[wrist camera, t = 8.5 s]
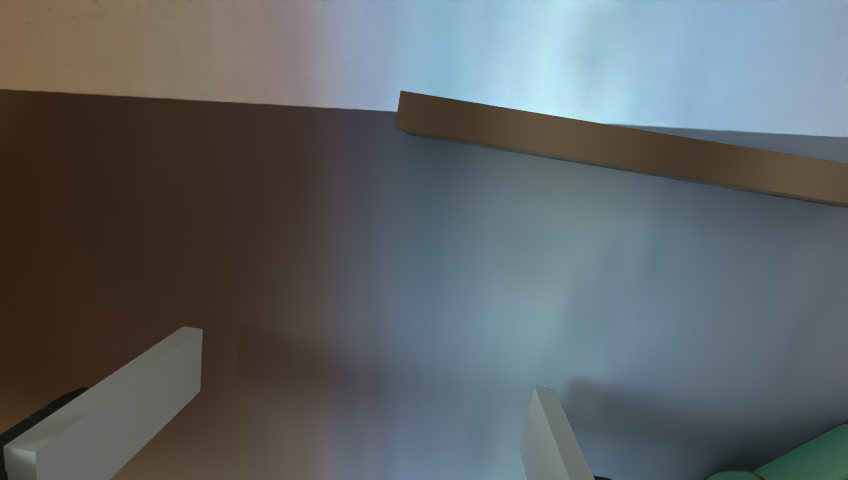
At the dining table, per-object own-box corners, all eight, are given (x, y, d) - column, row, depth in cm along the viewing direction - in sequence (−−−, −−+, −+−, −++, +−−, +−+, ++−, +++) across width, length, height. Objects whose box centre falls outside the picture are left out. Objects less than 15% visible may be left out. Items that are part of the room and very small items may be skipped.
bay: (342, 573, 20) (316, 677, 16) (413, 106, 15) (400, 90, 11) (671, 638, 19) (727, 761, 15) (851, 179, 15) (998, 188, 11)
